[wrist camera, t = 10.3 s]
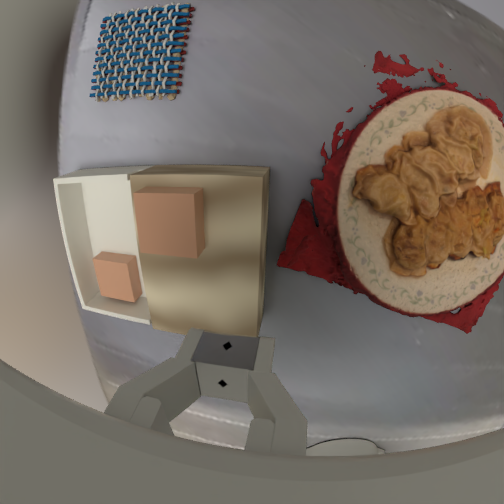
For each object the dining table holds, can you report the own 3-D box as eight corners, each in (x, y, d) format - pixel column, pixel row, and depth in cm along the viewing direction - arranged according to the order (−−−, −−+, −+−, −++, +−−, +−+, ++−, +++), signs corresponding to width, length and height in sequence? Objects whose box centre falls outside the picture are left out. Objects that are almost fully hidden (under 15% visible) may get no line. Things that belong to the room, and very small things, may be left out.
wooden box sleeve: (262, 315, 32) (256, 345, 27) (170, 302, 33) (153, 328, 29) (269, 166, 25) (262, 177, 20) (156, 165, 26) (129, 175, 22)
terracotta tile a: (101, 295, 32) (109, 287, 33) (134, 302, 31) (142, 293, 33) (92, 258, 29) (101, 251, 31) (127, 263, 29) (135, 255, 30)
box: (170, 302, 33) (155, 325, 29) (101, 289, 35) (82, 308, 31) (156, 165, 26) (132, 173, 22) (79, 169, 28) (53, 178, 24)
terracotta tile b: (205, 247, 24) (197, 258, 22) (151, 242, 24) (140, 252, 22) (202, 187, 21) (193, 194, 20) (145, 186, 22) (133, 192, 20)
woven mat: (109, 17, 20) (98, 13, 18) (198, 4, 19) (191, -3, 17) (95, 102, 25) (84, 103, 23) (182, 101, 24) (173, 100, 22)
